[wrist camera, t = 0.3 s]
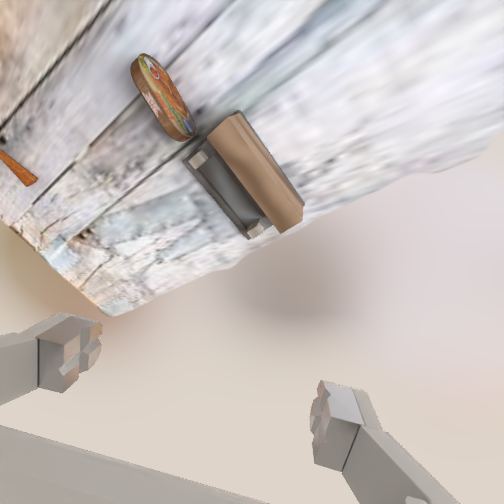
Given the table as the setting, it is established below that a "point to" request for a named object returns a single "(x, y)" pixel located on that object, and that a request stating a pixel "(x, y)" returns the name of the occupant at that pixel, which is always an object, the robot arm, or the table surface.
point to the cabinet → (245, 179)
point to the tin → (162, 97)
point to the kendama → (18, 170)
